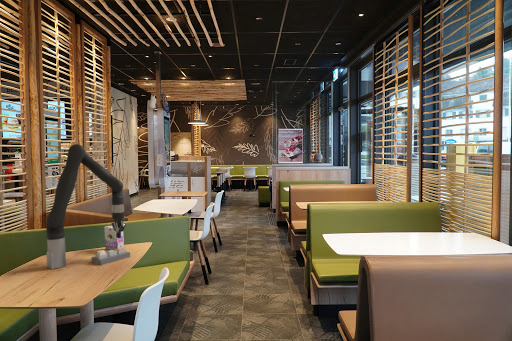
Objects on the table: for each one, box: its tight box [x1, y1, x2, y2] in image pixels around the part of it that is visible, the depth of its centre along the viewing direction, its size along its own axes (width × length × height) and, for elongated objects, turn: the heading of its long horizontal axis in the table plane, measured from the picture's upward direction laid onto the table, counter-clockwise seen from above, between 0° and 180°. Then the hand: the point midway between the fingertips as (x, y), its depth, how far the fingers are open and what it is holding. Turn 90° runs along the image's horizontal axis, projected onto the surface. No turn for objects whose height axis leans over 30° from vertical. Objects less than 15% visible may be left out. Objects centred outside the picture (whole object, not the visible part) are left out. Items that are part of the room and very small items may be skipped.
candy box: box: [103, 225, 125, 251], centre depth 246 cm, size 14×6×16 cm, turn 58°
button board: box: [91, 248, 131, 266], centre depth 224 cm, size 20×11×5 cm, turn 143°
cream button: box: [96, 249, 107, 256], centre depth 219 cm, size 4×4×2 cm
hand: (118, 237), depth 228 cm, fingers closed
